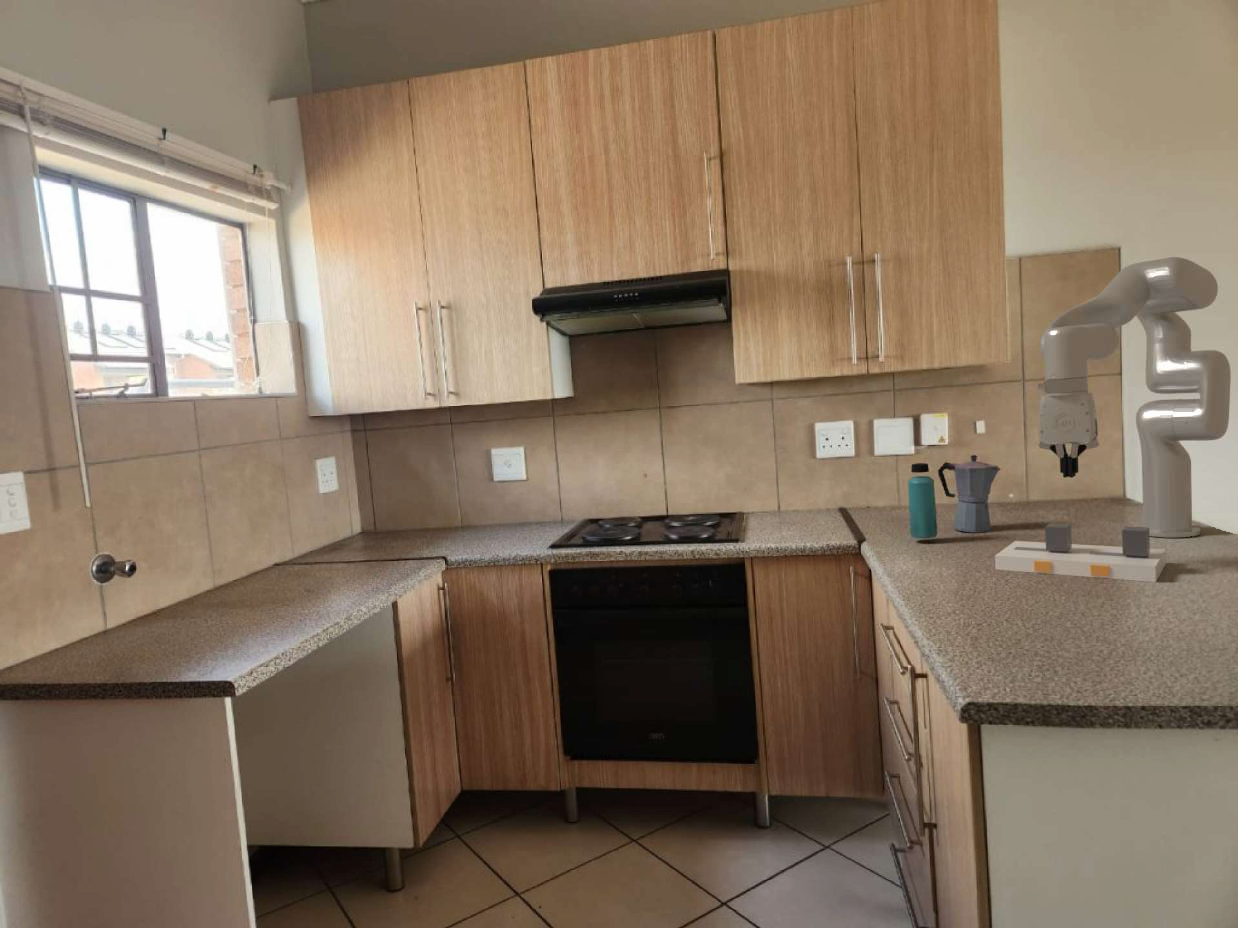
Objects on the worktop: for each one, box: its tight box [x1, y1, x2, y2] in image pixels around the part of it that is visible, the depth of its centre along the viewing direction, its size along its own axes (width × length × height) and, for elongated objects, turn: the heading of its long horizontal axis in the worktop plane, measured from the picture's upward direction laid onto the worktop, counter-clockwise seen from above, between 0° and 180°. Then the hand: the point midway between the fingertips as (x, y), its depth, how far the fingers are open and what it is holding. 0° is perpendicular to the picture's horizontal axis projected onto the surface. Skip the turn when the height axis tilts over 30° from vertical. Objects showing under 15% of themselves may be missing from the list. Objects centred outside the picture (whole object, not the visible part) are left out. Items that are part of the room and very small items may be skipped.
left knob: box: [1044, 523, 1073, 552], centre depth 163 cm, size 4×4×5 cm
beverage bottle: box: [907, 462, 939, 539], centre depth 195 cm, size 6×7×20 cm
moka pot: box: [937, 454, 1002, 534], centre depth 205 cm, size 10×15×20 cm, turn 58°
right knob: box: [1121, 525, 1151, 556], centre depth 154 cm, size 4×4×5 cm
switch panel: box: [994, 540, 1167, 583], centre depth 161 cm, size 16×28×3 cm, turn 49°
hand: (1069, 476), depth 160 cm, fingers closed
